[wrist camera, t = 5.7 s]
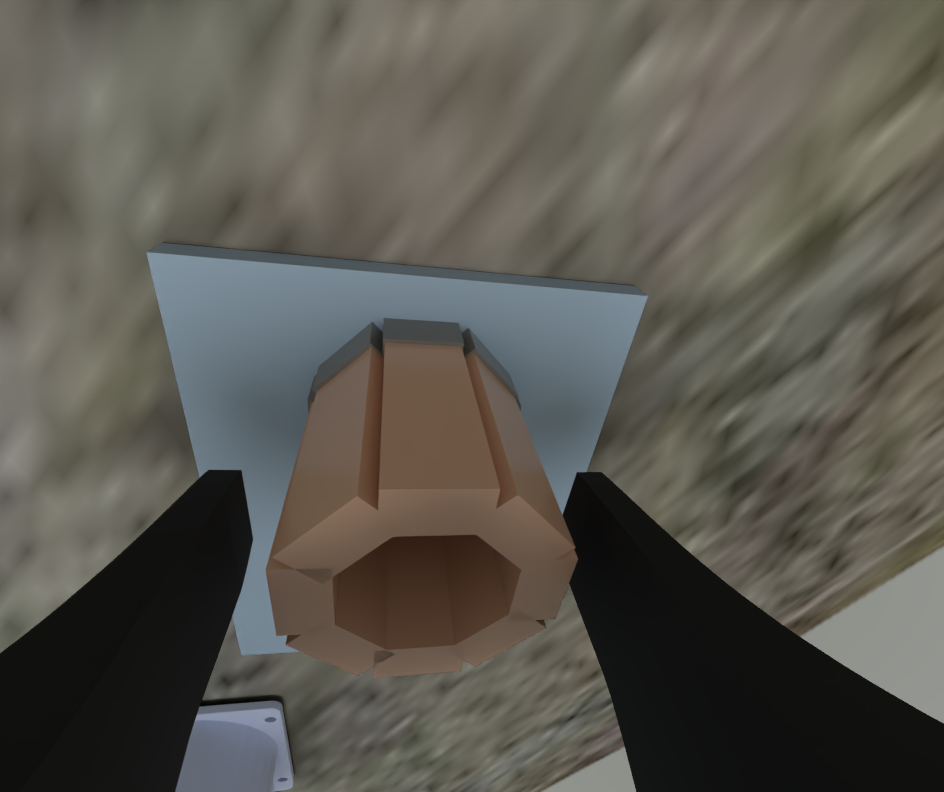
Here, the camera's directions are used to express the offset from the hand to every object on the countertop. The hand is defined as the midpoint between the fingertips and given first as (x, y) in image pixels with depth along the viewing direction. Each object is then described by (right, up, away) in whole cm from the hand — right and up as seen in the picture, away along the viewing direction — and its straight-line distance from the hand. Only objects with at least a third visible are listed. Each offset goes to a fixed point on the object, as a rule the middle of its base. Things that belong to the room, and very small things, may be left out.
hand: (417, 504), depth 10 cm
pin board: (-1, -1, +6) cm, 6 cm away
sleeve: (0, +2, +3) cm, 4 cm away
